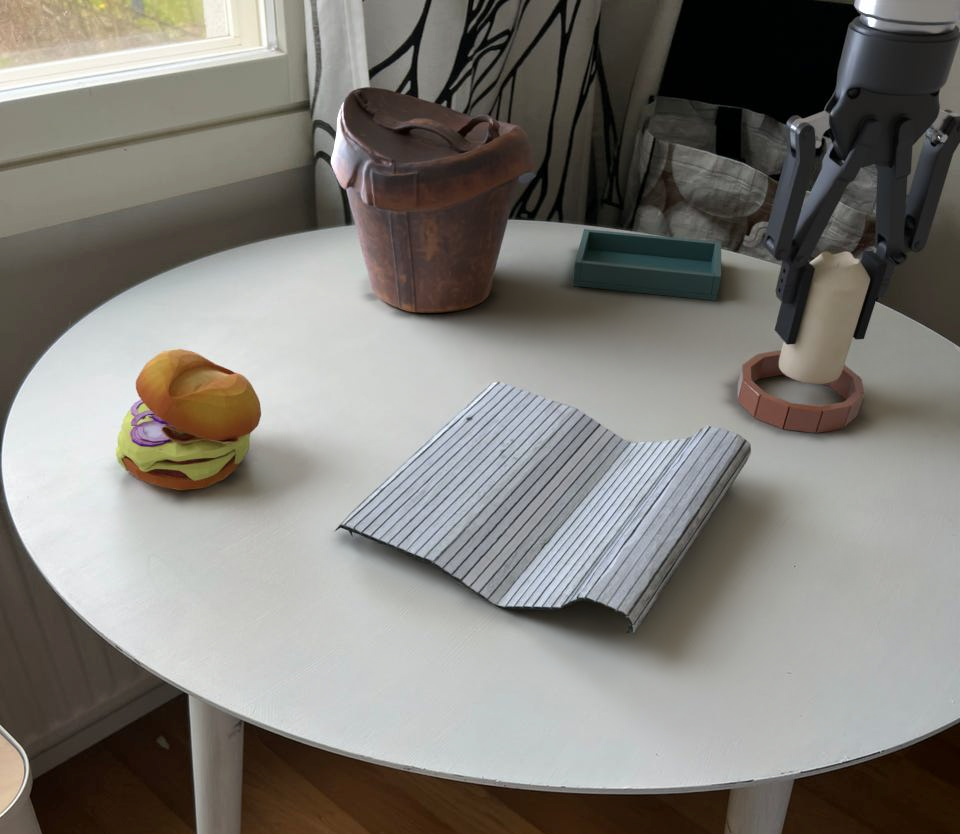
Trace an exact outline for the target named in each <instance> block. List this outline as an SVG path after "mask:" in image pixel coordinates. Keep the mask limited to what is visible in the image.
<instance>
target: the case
mask: <svg viewBox="0 0 960 834" xmlns="http://www.w3.org/2000/svg"><path fill="white" fill-rule="evenodd" d="M531 147H532V146H531V142H530V138H529V136H528V134H527V132H526V131H525V130H524V129H523V128H522V127H521V126H520V125H518V124H513V123H509V122H506V121H501V120H497V119H495V118H493V117H492V116H491V115H488V114H486V113H485V114H484V113H483V114H480V115H478V116H475V115H471V114H466V113H463V112H461V111H459V110H455V109H453V108H450V107H447V106H446V105H445V106H444V105H442V104H439V103H436V102H432V101H429V100H425V99H422V98H419V97H416V96H412V95H409V94H404V93H401V92H397V91H394V90H391V89H387V88H380V87H373V86H365V87H359V88H356V89H353V90H351V91H350V92H349V93H348V94H347V95H346V96H345V98H344V100H343V102H342V104H341V106H340V108H339V111H338V115H337V120H336V133H335V139H334V145H333V151H332V154H331V158H330V165H331V168H332V170H333V173H334V175H335V177H336V179H337V180H338V183H339V186H340V187H341V188H343V190H346V195H347V199H348V203H349V207H350V210H351V214H352V219H353V222H354V225H355V230H356V233H357V236H358V241H359V246H360V249H361V253H362V256H363V260H364V263H365V264H364V265H365V267H366V271H367V275H368V279H369V284H370V287H371V290H372V291H373V293H374V295H376V296H377V297H378V298H379V299H380V300H381V301H383V302H384V303H387V304H389V305H390V306H393V307H396V308H397V309H400V310H402V311H406V312H411V313H422V314H423V313H424V314H439V313H440V314H441V313H449V312H450V313H451V312H456V311H462V310H466V309H470V308H474V307H475V306H477V305H479V304H482V303H483V302H484V301H485V300H486V299H487V298H488V297H489V295H490V294H491V290H492V285H493V279H494V275H495V272H496V268H497V263H498V259H499V256H500V252H501V249H502V244H503V241H504V237H505V233H506V230H507V227H508V222H509V221H508V220H509V219H510V218H509V217H510V214H511V209H512V205H513V202H514V198H515V194H516V190H517V186H518V183H519V184H520V185H524V184H527V183H528V182H531V181H532V180H533V179H534V178H535V177H537V172H536V169H535V164H534V159H533V158H534V157H533V152H532V148H531Z"/></svg>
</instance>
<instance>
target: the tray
mask: <svg viewBox="0 0 960 834" xmlns="http://www.w3.org/2000/svg"><path fill="white" fill-rule="evenodd" d="M573 268H574V269H573V277H572V286H573V287H582V288H589V289H599V290H608V291H609V290H611V291H619V292H629V293H639V294H649V295H657V296H668V297H677V298H678V297H679V298H687V299H696V300H697V299H698V300H705V301H706V300H707V301H714V302H715V301H717V299H718V294H719V289H720V285H721V280H722V242H721V241H713V240H703V239H693V238H682V237H671V236H663V235H662V236H661V235H651V234H643V233H631V232H630V233H629V232H620V231H611V230H610V231H609V230H599V229H589V228H583V230H582V235H581V238H580V241H579V246H578V250H577V253H576V256H575V259H574V267H573Z"/></svg>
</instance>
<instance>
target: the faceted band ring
mask: <svg viewBox="0 0 960 834" xmlns="http://www.w3.org/2000/svg"><path fill="white" fill-rule="evenodd" d="M781 350H782V349H779V350H773V351H768V352H760V353H758V354H755V355H754V356H753V357H751V358H750V359H748V360H747V361H746V362H745V363H743V364H742V366H741V369H740V374H739V378H738V382H737V386H736V388H737V402H738V404H739V405H741V406H742V408H743V409H745V410H746V411H747V413H749V414H750V415H751V416H752V417H753V418H754V419H757V420H759V421H762V422H764V423H766V424H769V425H771V426H774V427H776V428H779V429H781V430H785V431H796V432H802V433H812V434H815V433H816V434H819V433H824V432H829V431H835V430H840V429H843V428H845V427H847V425H848V424H850V423H851V422H852V421H853V420H854V419H855V418H857V417H858V414H859V411H860V408H861V405H862V403H863V400H864V396H865V393H866V392H865V387H864V384H863V379H862V378H861V376H859V375H858V374H857V373H856V372H854V371H853V370H852V369H851V368H849V367H848V366H847V365H846V364H844V367H843V370H842V373H841V375H840V377H839V378H838V379H837V380H835V381H833V382H830V383H824V384H823V385H825V386H827V387H830V388H832V389H833V390H834V391H835V392H836V393H837V394H839V396H841V397H842V398H843V399H844V401H842V402H836V403H831V404H825V405H820V406H819V405H811V404H803V403H793V402H789V401H787V400H785V399H783V398H780V397H777V396H774V395H772V394H770V393H767V392H765V391H764V390H763V389H762V388H761V387H760V386H759V385H757V384H756V383H755V382H756V381H758V379H764V378H770V377H776V376H786V375H785V374H784V373H783V372H782V371H781V370H780V368H779V358H780V354H781ZM786 377H787V376H786Z"/></svg>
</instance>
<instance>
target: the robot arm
mask: <svg viewBox="0 0 960 834" xmlns="http://www.w3.org/2000/svg"><path fill="white" fill-rule="evenodd" d="M853 6H854V8H855V10H856V11H857V13H858V14H860V15H859V16H856V17H855V18H854V19H852V21H851V22H850V23H849V24H848V26H847V31H846V35H845V38H844V43H843V47H842V51H841V56H840V59H839V64H838V67H837V74H836V85H835V89H834V91H833V93H832V96H831V97H830V99H829V100H828V101H827V102H826V104H825V106H824V109H823V111H820V112H817V113H815V114H812V115H810V116H807V117H804V118H802V117H801V116H799V115H798V114H796V115H792V116H790V117H789V118H788V119H787V121H786V123H785V133H786V137H785V138H786V153H785V157H784V161H783V164H782V168H781V172H780V176H779V179H778V184H777V187H776V192H775V195H774V199H773V203H772V207H771V211H770V215H769V218H768V222H767V226H766V230H765V232H764V233H765V234H764V238H763V241H762V244H763V248H765V249H766V251H767V252H769V254H770V255H771V256H772V257H773V258H774V259H775V260H776V261H779V262H780V261H781V265H780V270H779V273H778V279H777V283H776V286H775V296H776V298H777V300H779V302H781V303H780V306H779V310H778V315H777V319H776V322H775V327H774V331H775V332H776V334H777V335H778V336H779V338H780V339H781V340H782V342H785V343H786V344H787V345H788V344H795V343H796V339H797V335H798V332H799V328H800V324H801V320H802V316H803V313H804V309H805V305H806V301H807V298H808V294H809V290H810V286H811V282H812V279H813V275H814V271H815V268H814V267H813V266H812V265H811V264H810V261H809V260H810V258H811V256H812V254H813V252H814V250H815V249H816V246H817V245H818V243H819V241H820V239H821V237H822V235H823V234H824V231H825V229H826V228H827V226H828V224H829V222H830V220H831V218H832V216H833V214H834V213H835V210H836V208H837V207H838V204H839V203H840V201H841V199H842V197H843V195H844V193H845V191H846V190H847V188H848V186H849V184H850V183H852V182H854V181H855V180H856V178H857V176H858V174H859V172H860V170H861V169H862V168H867V167H870V166H873V165H874V166H875V168H876V196H875V197H876V198H875V199H876V201H875V227H874V230H875V231H874V249H876V251H874V250H864V251H863V253H862V256H861V259H860V262H861V264H862V265H863V267H864V268H865V270H866V271H867V273H868V275H869V277H870V283H869V286H868V289H867V293H866V296H865V299H864V302H863V306H862V309H861V312H860V315H859V319H858V322H857V325H856V328H855V332H854V335H853V339H854V340H856V341H857V340H859V341H860V340H864V339H865V337H866V333H867V331H868V327H869V324H870V322H871V318H872V316H873V311H874V310H875V309H874V308H875V305H876V303H877V299H878V298H883V297H884V296H885V295H886V293H887V292H888V289H889V287H890V283H891V279H892V277H893V273H894V270H895V268H896V266H898V267H899V266H901V265H903V264H904V263H905V262H906V261H907V259H908V255H907V254H908V253H911V252H913V253H916V254H917V253H920V252H921V251H923V250H924V249H925V247H926V246H927V242H928V239H929V237H930V232H931V229H932V226H933V222H934V219H935V216H936V214H937V210H938V206H939V203H940V199H941V196H942V192H943V189H944V186H945V183H946V180H947V176H948V174H949V173H948V172H949V169H950V167H951V164H952V161H953V160H952V159H953V156H954V153H955V152H956V150H957V148H958V147H959V145H960V114H958V113H957V112H955V111H953V110H951V109H948V108H946V109H944V110H942V109H941V104H940V92H941V89H943V87H944V86H945V85H946V84H947V81H948V80H949V76H950V72H951V70H952V66H953V63H954V60H955V57H956V53H957V50H958V47H959V44H960V28H959V27H958V25H957V23H960V0H854V3H853ZM826 132H828V136H829V138H830V141H831V142H830V144H829V146H828V147H827V149H826V152H825V154H824V156H823V158H822V162H821V170H820V172H819V174H818V176H817V178H816V180H815V182H814V184H813V186H812V188H811V190H810V192H809V194H808V195H807V198H806V194H807V192H808V187H809V184H810V181H811V176H812V174H813V169H814V166H815V161H816V151H817V149H819V148H820V147H822V144H823V137H824V134H825V133H826ZM924 134H925V139H924V142H923V144H922V147H921V150H920V153H919V156H918V160H917V164H916V167H915V171H914V175H913V178H912V182H911V185H910V188H909V192H908V196H907V190H908V177H909V175H911V173H912V161H913V146H914V145H915V144H916V143H917V142H918V141H919V139H920V138H921V137H922V136H923V135H924ZM805 198H806V200H805Z"/></svg>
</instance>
